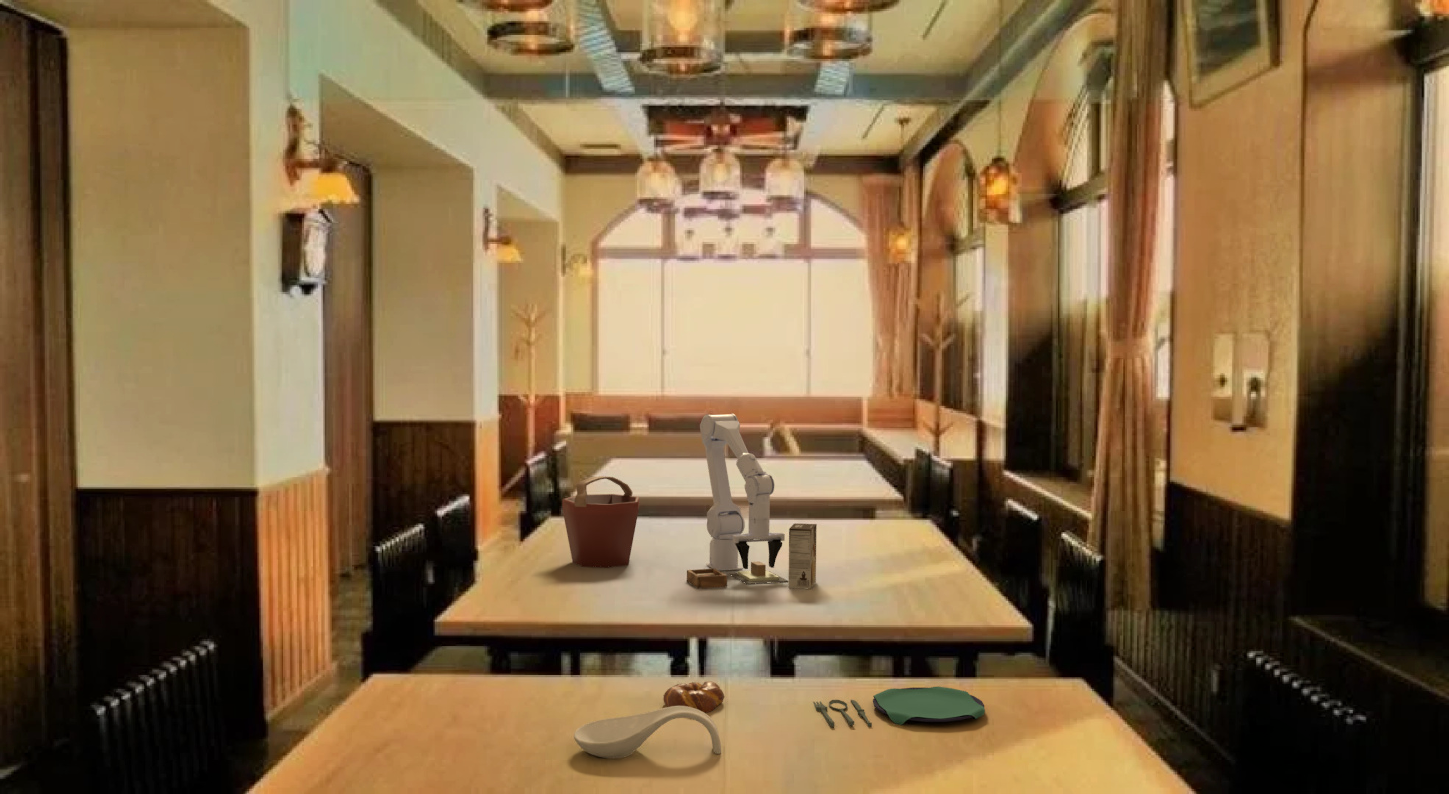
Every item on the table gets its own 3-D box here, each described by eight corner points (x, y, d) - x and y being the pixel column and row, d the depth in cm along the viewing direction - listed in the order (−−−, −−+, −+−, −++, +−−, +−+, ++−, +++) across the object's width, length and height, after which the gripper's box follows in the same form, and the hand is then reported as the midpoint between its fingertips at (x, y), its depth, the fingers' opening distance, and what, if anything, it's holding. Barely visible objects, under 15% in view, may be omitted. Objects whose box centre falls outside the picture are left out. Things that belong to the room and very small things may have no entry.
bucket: (587, 573, 341) (587, 483, 339) (544, 561, 357) (544, 476, 356) (656, 562, 357) (657, 477, 355) (612, 552, 373) (612, 470, 372)
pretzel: (693, 692, 231) (693, 672, 230) (738, 703, 224) (738, 683, 224) (649, 706, 221) (650, 686, 221) (695, 719, 214) (695, 698, 214)
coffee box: (792, 581, 332) (793, 522, 331) (816, 582, 331) (817, 523, 330) (787, 588, 323) (788, 528, 322) (811, 589, 322) (812, 529, 321)
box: (686, 581, 331) (686, 570, 331) (714, 579, 334) (714, 568, 334) (698, 588, 322) (698, 577, 322) (726, 586, 324) (726, 575, 324)
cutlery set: (1000, 728, 211) (1000, 714, 211) (829, 735, 208) (829, 722, 208) (964, 695, 231) (964, 683, 231) (808, 701, 228) (808, 689, 227)
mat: (729, 574, 340) (729, 573, 340) (769, 572, 344) (769, 571, 344) (746, 584, 327) (746, 583, 327) (788, 582, 331) (788, 581, 331)
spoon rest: (572, 767, 190) (572, 721, 190) (574, 741, 202) (575, 699, 202) (723, 763, 193) (724, 719, 192) (717, 739, 204) (717, 696, 204)
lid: (737, 574, 340) (737, 560, 339) (765, 572, 342) (765, 559, 342) (750, 581, 330) (750, 567, 330) (779, 579, 333) (779, 566, 332)
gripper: (739, 521, 329) (738, 571, 330) (789, 519, 334) (788, 569, 334) (730, 518, 335) (729, 567, 336) (779, 515, 340) (778, 564, 341)
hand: (758, 567), depth 336 cm, fingers open, 7 cm apart
